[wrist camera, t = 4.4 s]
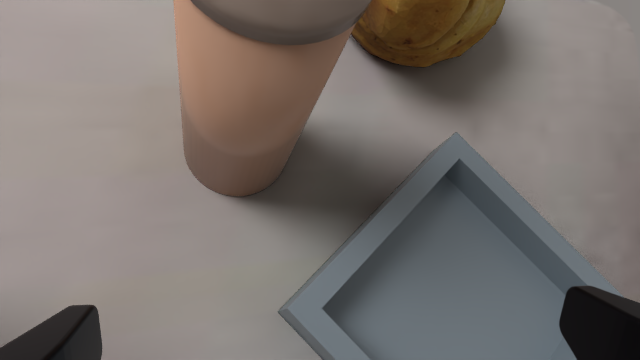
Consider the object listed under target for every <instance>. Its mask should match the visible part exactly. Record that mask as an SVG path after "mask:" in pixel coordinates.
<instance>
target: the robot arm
mask: <svg viewBox="0 0 640 360" xmlns="http://www.w3.org/2000/svg"><path fill="white" fill-rule="evenodd" d="M559 327H560V331H561V334H562V336H563V337H564V339H565V341H566V342H567V344H568V346H569V347H570V349H571V351H572V352H573V354H574V356H575V357H576V359H577V360H640V303H638V302H635V301H632V300H630V299H627V298H624V297H621V296H619V295H616V294H613V293H610V292H607V291H605V290H602V289H599V288H596V287H594V286H588V285H587V286H572V287H570V288H569V289H568V290H567V292H566V295H565V299H564V303H563V307H562V311H561V315H560V319H559ZM101 355H102V340H101V331H100V323H99V314H98V310H97V308H96V307H95V306H94V305H72V306H69V307H67V308H65V309H64V310H62V311H60V312H59V313H57V314H55V315H54V316H52V317H50V318H49V319H47V320H46V321H44V322H42V323H41V324H39V325H37V326H36V327H34V328H32V329H31V330H29V331H27V332H26V333H24V334H22V335H21V336H19V337H18V338H16V339H14V340H13V341H11V342H9V343H8V344H6V345H4V346H3V347H1V348H0V360H101Z"/></svg>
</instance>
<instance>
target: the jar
mask: <svg viewBox="0 0 640 360" xmlns="http://www.w3.org/2000/svg"><path fill="white" fill-rule="evenodd" d="M371 1H372V0H174V14H175V29H176V43H177V58H178V72H179V87H180V101H181V116H182V131H183V145H184V155H185V159H186V162H187V165H188V167H189V169H190V170H191V172H192V174H193V175H194V176H195V177H196V178H197V180H199V181H200V182H201V183H202V184H203V185H205V186H206V187H207V188H209V189H211V190H213V191H215V192H218V193H220V194H224V195H229V196H246V195H251V194H255V193H257V192H260V191H262V190H264V189H265V188H267V187H268V186H270V185H271V184H272V183H273V182H274V181H275V180H276V179H277V178H278V177H279V175H280V174H281V172H282V170H283V168H284V166H285V164H286V162H287V160H288V158H289V156H290V154H291V152H292V150H293V148H294V146H295V144H296V142H297V140H298V138H299V136H300V134H301V132H302V130H303V128H304V126H305V124H306V122H307V120H308V118H309V116H310V114H311V112H312V110H313V108H314V106H315V104H316V102H317V100H318V98H319V96H320V94H321V92H322V90H323V88H324V86H325V84H326V82H327V80H328V78H329V76H330V74H331V72H332V70H333V68H334V66H335V64H336V62H337V60H338V58H339V56H340V54H341V52H342V50H343V48H344V46H345V44H346V42H347V40H348V38H349V36H350V34H351V32H352V30H353V28H354V26H355V24H356V22H357V21H359V20H360V18H361V17H362V16H363V15H364V13H365V12H366V10H367V9H368V7H369V5H370V3H371Z"/></svg>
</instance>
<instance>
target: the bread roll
mask: <svg viewBox="0 0 640 360" xmlns="http://www.w3.org/2000/svg"><path fill="white" fill-rule="evenodd" d="M504 4H505V0H372V1H371V3H370V5H369V7H368V9H367V10H366V12H365V13H364V15H363V16H362V17H361V18H360V20H359V21H357V22H356V24H355V26H354V28H353V30H352V32H351V34H352V36H353V37H354V38H355V39H356V40H357V41H358V42H359V43H360V45H361V46H362V47H363V48H364V49H365V50H367V51H368V52H369V53H370V54H372V55H376V56H378V57H380V58H382V59H384V60H387V61H389V62H392V63H396V64H400V65H405V66H414V67H427V66H430V65H432V64H433V63H437V62H440V61H442V60H445V59H450V58H453V57H457V56H461V55H462V54H463V53H464V52H465V51H467V50H468V49H469V48H470V47H472V46H473V45H474V44H475V43H477V42H478V41H479V40H480V39H482V38H483V37H484V36H485V35H486V33H487V32H488V31H489V30H490V29H491V27H492V26H493V25H495V24H496V21H497V19H498V17H499V16H500V14H501V12H502V9H503V6H504Z"/></svg>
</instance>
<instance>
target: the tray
mask: <svg viewBox="0 0 640 360" xmlns="http://www.w3.org/2000/svg"><path fill="white" fill-rule="evenodd" d="M587 285H588V286H594V287H596V288H599V289H602V290H605V291H607V292H610V293H613V294H616V295H619V296H621V297H623V296H622V295H621V294H620V293H619V292H618V291H617V290H616V289H615V288H614V287H613V286H612V285H611V284H610V283H609V282H608V281H607V280H606V279H605V278H604V277H603V276H602V275H601V274H600V273H599V272H598V271H597V270H596V269H595V268H594V267H593V266H592V265H591V264H590V263H589V262H588V261H587V260H586V259H585V258H584V257H583V256H582V255H581V254H580V253H579V252H578V251H577V250H575V249H574V248H573V247H572V246H571V245H570V244H569V243H568V242H567V241H566V240H565V239H564V238H563V237H562V236H561V235H560V234H559V233H558V232H557V231H556V230H555V229H554V228H553V227H552V226H551V225H550V224H549V223H548V222H547V221H546V220H545V219H544V218H543V217H542V216H541V215H540V214H539V213H538V212H537V211H536V210H535V209H534V208H533V207H532V206H531V205H530V204H529V203H528V202H527V201H526V200H525V199H524V198H523V197H522V196H521V195H520V194H519V193H518V192H517V191H516V190H515V189H514V188H513V187H512V186H511V185H510V184H509V183H508V182H507V181H506V180H505V179H504V178H503V177H501V176H500V175H499V174H498V173H497V172H496V171H495V170H494V169H493V168H492V167H491V166H490V165H489V164H488V163H487V162H486V161H485V160H484V159H483V158H482V157H481V156H480V155H479V154H478V153H477V152H476V151H475V150H474V149H473V148H472V147H471V146H470V145H469V144H468V143H467V142H466V141H465V140H464V139H463V138H462V137H461V136H460V135H459V134H458V133H457V132H456V133H454V134H453V135H452V136H451V137H449V138H448V139H447V140H446V141H444V142H443V143H442V144H441V145H439V146H438V147H437V148H436V149H435V150H433V151H432V152H431V153H430V154H429V155H428V156H427V157H426V159H425V160H424V161H423V162H422V163H421V164H420V165H419V166H418V167H417V168H416V169H415V170H414V171H413V172H412V173H411V174H410V175H409V176H408V177H407V178H406V179H405V180H404V181H403V182H402V183H401V184H400V185H399V186H398V188H397V189H396V190H395V191H394V192H393V193H392V194H391V195H390V196H389V197H388V198H387V199H386V200H385V201H384V202H383V203H382V204H381V205H380V206H379V207H378V208H377V209H376V210H375V211H374V212H373V213H372V214H371V215H370V217H369V218H368V219H367V220H366V221H365V222H364V223H363V224H362V225H361V226H360V227H359V228H358V229H357V230H356V231H355V232H354V233H353V234H352V235H351V236H350V237H349V238H348V239H347V240H346V241H345V242H344V243H343V244H342V245H341V247H340V248H339V249H338V250H337V251H336V252H335V253H334V254H333V255H332V256H331V257H330V258H329V259H328V260H327V261H326V262H325V263H324V264H323V265H322V266H321V267H320V268H319V269H318V270H317V271H316V272H315V273H314V274H313V276H312V277H311V278H310V279H309V280H308V281H307V282H306V283H305V284H304V285H303V286H302V287H301V288H300V289H299V290H298V291H297V292H296V293H295V294H294V295H293V296H292V297H291V298H290V299H289V300H288V301H287V302H286V303H285V305H284V306H283V307H282V308H281V309H280V310H279V311H278V313H279V314H280V315H281V316H282V317H283V318H284V319H285V320H286V321H287V322H288V323H289V325H290V326H291V327H292V328H293V329H294V330H295V331H296V332H297V333H298V334H299V335H300V336H301V337H302V338H303V339H304V340H305V341H306V342H307V344H308V345H309V346H310V347H311V348H312V349H313V350H314V351H315V352H316V353H317V354H318V355H319V356H320V357H321V358H322V359H323V360H577V359H576V357H575V356H574V354H573V352H572V351H571V349H570V347H569V346H568V344H567V342H566V341H565V339H564V337H563V336H562V334H561V331H560V327H559V319H560V315H561V311H562V307H563V303H564V299H565V295H566V292H567V290H568V289H569V288H570V287H572V286H587Z"/></svg>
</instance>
